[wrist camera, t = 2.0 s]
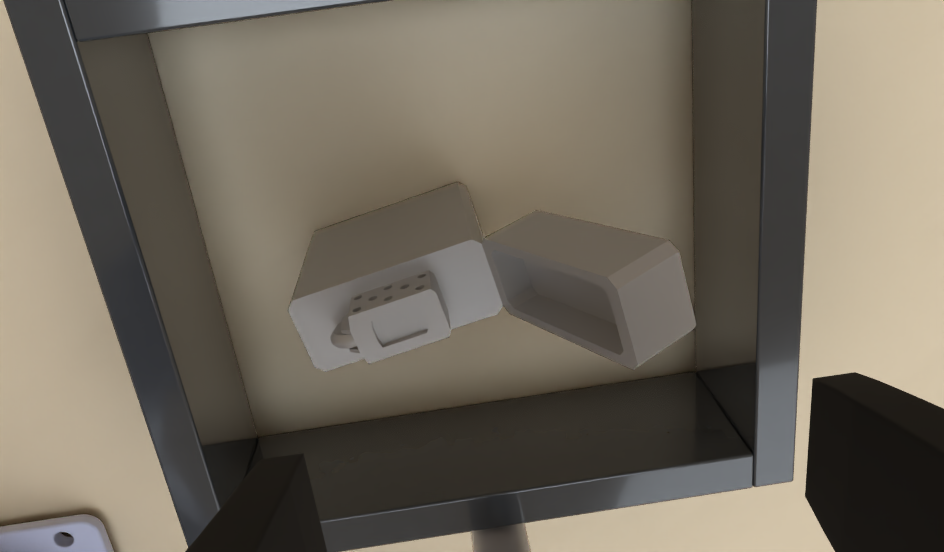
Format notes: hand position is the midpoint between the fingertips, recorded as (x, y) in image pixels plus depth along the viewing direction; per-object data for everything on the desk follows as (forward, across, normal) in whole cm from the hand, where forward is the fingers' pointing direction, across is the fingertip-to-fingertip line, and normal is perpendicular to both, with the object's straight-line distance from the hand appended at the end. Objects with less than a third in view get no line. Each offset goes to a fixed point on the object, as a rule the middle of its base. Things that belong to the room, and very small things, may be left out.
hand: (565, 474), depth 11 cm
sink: (+10, +1, -1) cm, 10 cm away
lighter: (+10, +1, -1) cm, 10 cm away
